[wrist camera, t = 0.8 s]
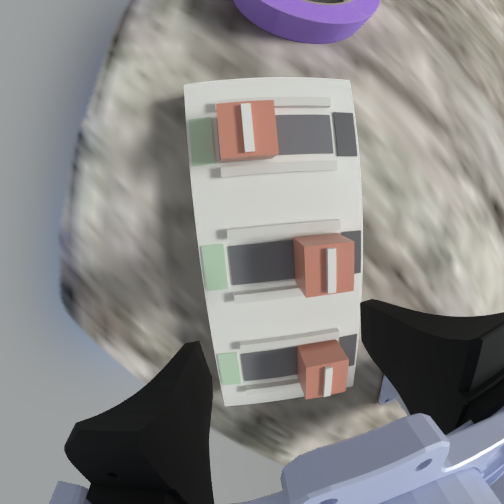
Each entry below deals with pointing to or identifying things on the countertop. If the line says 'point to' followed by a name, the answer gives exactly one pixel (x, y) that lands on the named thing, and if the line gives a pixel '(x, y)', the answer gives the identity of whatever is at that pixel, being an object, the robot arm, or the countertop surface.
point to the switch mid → (324, 264)
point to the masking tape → (308, 18)
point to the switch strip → (274, 230)
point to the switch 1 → (247, 130)
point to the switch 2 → (322, 369)
